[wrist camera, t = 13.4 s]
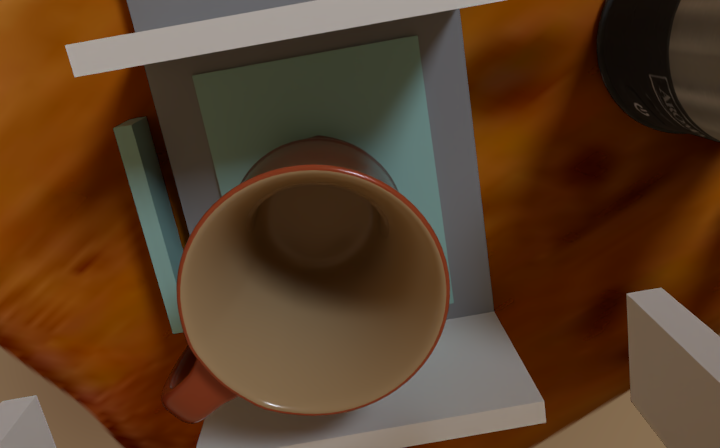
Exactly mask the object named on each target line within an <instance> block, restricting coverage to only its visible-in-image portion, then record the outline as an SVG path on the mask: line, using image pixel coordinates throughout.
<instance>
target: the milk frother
mask: <svg viewBox="0 0 720 448" xmlns="http://www.w3.org/2000/svg"><path fill="white" fill-rule="evenodd" d="M597 57H598V64H599V69H600V73H601V75H602V78H603V81H604V84H605V86H606V88H607V90H608V92H609V93H610V95H611V96H612V98H613V99H614V101H615V102H616V103H617V104H618V105H619V106H620V108H621V109H622V110H623V111H624V112H625V113H627V114H628V115H629V116H630V117H632V118H633V119H634V120H636V121H637V122H639V123H641V124H643V125H645V126H647V127H650V128H653V129H655V130H659V131H663V132H668V133H677V134H692V135H696V136H700V137H704V138H706V139H710V140H714V141H716V142H720V0H606V2H605V6H604V8H603V10H602V14H601V19H600V22H599V25H598V33H597Z"/></svg>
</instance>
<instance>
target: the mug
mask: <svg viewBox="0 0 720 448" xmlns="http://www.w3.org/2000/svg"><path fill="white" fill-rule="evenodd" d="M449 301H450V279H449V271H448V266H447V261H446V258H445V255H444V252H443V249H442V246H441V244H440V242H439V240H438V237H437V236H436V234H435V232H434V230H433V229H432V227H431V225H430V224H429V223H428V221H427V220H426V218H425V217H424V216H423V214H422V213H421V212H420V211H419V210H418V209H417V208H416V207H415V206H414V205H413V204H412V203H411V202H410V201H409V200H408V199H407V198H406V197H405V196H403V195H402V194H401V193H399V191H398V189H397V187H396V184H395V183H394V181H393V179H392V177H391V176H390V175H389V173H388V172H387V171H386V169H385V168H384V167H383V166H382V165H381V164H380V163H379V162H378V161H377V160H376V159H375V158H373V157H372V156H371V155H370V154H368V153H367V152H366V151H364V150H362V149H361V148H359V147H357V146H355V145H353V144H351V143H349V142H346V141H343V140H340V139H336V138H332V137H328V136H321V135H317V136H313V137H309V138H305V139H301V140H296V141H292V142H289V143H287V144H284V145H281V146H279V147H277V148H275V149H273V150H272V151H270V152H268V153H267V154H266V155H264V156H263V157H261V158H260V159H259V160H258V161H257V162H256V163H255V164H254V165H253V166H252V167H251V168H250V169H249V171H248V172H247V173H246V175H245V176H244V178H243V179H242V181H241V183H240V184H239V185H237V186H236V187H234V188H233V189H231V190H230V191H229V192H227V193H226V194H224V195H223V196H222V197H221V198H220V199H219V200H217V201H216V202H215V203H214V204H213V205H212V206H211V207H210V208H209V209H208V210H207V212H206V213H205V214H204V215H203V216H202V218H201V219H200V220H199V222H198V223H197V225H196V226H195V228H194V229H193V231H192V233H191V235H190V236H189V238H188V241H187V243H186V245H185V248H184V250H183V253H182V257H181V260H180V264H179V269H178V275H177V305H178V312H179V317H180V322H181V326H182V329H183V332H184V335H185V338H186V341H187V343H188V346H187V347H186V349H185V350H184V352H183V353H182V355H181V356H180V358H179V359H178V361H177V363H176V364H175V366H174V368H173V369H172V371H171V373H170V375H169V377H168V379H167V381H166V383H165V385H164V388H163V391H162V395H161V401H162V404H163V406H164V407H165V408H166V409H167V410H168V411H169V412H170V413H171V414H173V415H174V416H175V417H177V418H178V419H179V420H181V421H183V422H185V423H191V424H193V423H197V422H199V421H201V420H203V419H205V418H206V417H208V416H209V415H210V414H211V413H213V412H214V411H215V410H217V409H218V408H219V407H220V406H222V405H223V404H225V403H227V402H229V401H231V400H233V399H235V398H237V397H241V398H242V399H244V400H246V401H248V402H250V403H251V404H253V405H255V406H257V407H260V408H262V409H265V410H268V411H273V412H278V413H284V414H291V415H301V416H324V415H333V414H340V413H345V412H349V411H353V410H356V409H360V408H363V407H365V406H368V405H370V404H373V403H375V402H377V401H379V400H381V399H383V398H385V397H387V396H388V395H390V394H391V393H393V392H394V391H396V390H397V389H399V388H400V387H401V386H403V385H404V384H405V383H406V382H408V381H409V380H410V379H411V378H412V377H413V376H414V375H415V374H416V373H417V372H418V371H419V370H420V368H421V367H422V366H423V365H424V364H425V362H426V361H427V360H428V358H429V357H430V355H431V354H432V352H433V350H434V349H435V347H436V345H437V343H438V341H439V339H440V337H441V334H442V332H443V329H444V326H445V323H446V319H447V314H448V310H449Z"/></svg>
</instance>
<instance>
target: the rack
mask: <svg viewBox="0 0 720 448" xmlns="http://www.w3.org/2000/svg"><path fill="white" fill-rule="evenodd" d="M498 1H504V0H127V4H128V7H129V11H130V15H131V19H132V22H133V26H134V30H135V33H130V34H125V35H119V36H114V37H108V38H103V39H97V40H91V41H86V42H80V43H75V44H69V45H65V47H66V50H67V54H68V57H69V60H70V64H71V67H72V70H73V74H74V77H79V76H84V75H90V74H96V73H101V72H107V71H112V70H118V69H124V68H129V67H135V66H140V65H144V67H145V71H146V74H147V78H148V82H149V86H150V89H151V93H152V97H153V101H154V104H155V108H156V112H157V115H158V119H159V123H160V127H161V130H162V134H163V138H164V141H165V145H166V149H167V153H168V156H169V160H170V164H171V168H172V171H173V175H174V179H175V182H176V186H177V190H178V194H179V197H180V201H181V205H182V209H183V212H184V216H185V220H186V223H187V227H188V231H189V235H191V233H192V231H193V229H194V228H195V226H196V225H197V223H198V222H199V220H200V219H201V218H202V216H203V215H204V214H205V213H206V212H207V210H208V209H209V208H210V207H211V206H212V205H213V204H214V203H215V202H216V201H217V200H219V199H220V198H221V197H222V196H223V195H224V194H226V193H227V192H229V191H230V190H231V189H233V188H234V187H236V186H237V185H239V184H240V183H241V181H242V179H243V178H244V176H245V175H246V173H247V172H248V171H249V169H250V168H251V167H252V166H253V165H254V164H255V163H256V162H257V161H258V160H259V159H260V158H261V157H263V156H264V155H266V154H267V153H268V152H270V151H272V150H273V149H275V148H277V147H279V146H281V145H284V144H287V143H289V142H292V141H296V140H301V139H305V138H309V137H313V136H317V135H321V136H328V137H332V138H336V139H340V140H343V141H346V142H349V143H351V144H353V145H355V146H357V147H359V148H361V149H362V150H364V151H366V152H367V153H368V154H370V155H371V156H372V157H373V158H375V159H376V160H377V161H378V162H379V163H380V164H381V165H382V166H383V167H384V168H385V169H386V171H387V172H388V173H389V175H390V176H391V177H392V179H393V181H394V183H395V184H396V187H397V189H398V191H399V193H401V194H402V195H403V196H405V197H406V198H407V199H408V200H409V201H410V202H411V203H412V204H413V205H414V206H415V207H416V208H417V209H418V210H419V211H420V212H421V213H422V214H423V216H424V217H425V218H426V220H427V221H428V223H429V224H430V225H431V227H432V229H433V230H434V232H435V234H436V236H437V237H438V240H439V242H440V244H441V246H442V249H443V252H444V255H445V258H446V261H447V266H448V271H449V279H450V301H449V310H448V314H447V319H446V323H445V326H444V329H443V332H442V334H441V337H440V339H439V341H438V343H437V345H436V347H435V349H434V350H433V352H432V354H431V355H430V357H429V358H428V360H427V361H426V362H425V364H424V365H423V366H422V367H421V368H420V370H419V371H418V372H417V373H416V374H415V375H414V376H413V377H412V378H411V379H410V380H409V381H408V382H406V383H405V384H404V385H403V386H401V387H400V388H399V389H397V390H396V391H394V392H393V393H391V394H390V395H388V396H387V397H385V398H383V399H381V400H379V401H377V402H375V403H373V404H370V405H368V406H365V407H363V408H360V409H356V410H353V411H349V412H345V413H340V414H333V415H324V416H301V415H291V414H284V413H278V412H273V411H268V410H265V409H262V408H260V407H257V406H255V405H253V404H251V403H250V402H248V401H246V400H244V399H242V398H241V397H237V398H235V399H233V400H231V401H229V402H227V403H225V404H223V405H222V406H220V407H219V408H218V409H217V410H215V411H214V412H213V413H211V414H210V415H209V416H208V417H206V418H205V420H204V423H203V426H202V430H201V433H200V436H199V439H198V443H197V446H196V448H403V447H409V446H415V445H421V444H426V443H432V442H438V441H444V440H449V439H455V438H461V437H467V436H472V435H478V434H484V433H490V432H495V431H501V430H507V429H513V428H518V427H524V426H530V425H536V424H541V423H546V414H545V403H544V400H543V398H542V396H541V394H540V393H539V391H538V389H537V387H536V385H535V384H534V382H533V380H532V378H531V376H530V375H529V373H528V371H527V369H526V368H525V366H524V364H523V362H522V360H521V359H520V357H519V355H518V353H517V351H516V350H515V348H514V346H513V344H512V342H511V341H510V339H509V337H508V335H507V334H506V332H505V330H504V328H503V326H502V325H501V323H500V321H499V319H498V317H497V316H496V314H495V312H494V306H493V297H492V288H491V280H490V271H489V262H488V254H487V245H486V236H485V227H484V219H483V210H482V201H481V193H480V184H479V175H478V167H477V158H476V149H475V140H474V132H473V123H472V114H471V106H470V97H469V88H468V80H467V71H466V62H465V53H464V45H463V36H462V27H461V19H460V10H459V8H465V7H470V6H476V5H482V4H487V3H493V2H498ZM113 130H114V133H115V137H116V140H117V144H118V147H119V150H120V154H121V157H122V161H123V164H124V168H125V171H126V174H127V178H128V181H129V185H130V188H131V192H132V195H133V198H134V202H135V205H136V209H137V212H138V215H139V219H140V222H141V226H142V229H143V233H144V236H145V239H146V243H147V246H148V250H149V253H150V257H151V260H152V263H153V267H154V270H155V274H156V277H157V281H158V284H159V287H160V291H161V294H162V298H163V301H164V305H165V308H166V311H167V315H168V318H169V322H170V325H171V328H172V332H173V334H176V333H182V332H183V329H182V326H181V322H180V317H179V312H178V305H177V275H178V269H179V264H180V260H181V257H182V253H183V249H182V245H181V241H180V238H179V234H178V230H177V227H176V223H175V219H174V216H173V212H172V209H171V205H170V201H169V198H168V194H167V190H166V187H165V183H164V179H163V176H162V172H161V168H160V165H159V161H158V157H157V154H156V150H155V147H154V143H153V139H152V136H151V132H150V128H149V125H148V121H147V117H140V118H134V119H129V120H127V121H125V122H124V123H122V124H120V125H118V126H116V127H114V128H113Z"/></svg>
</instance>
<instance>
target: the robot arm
mask: <svg viewBox="0 0 720 448" xmlns="http://www.w3.org/2000/svg"><path fill="white" fill-rule="evenodd" d="M626 297H627V321H628V345H629V369H630V393H631V402H632V403H633V404H634V406H635V407H636V408H637V409H638V411H639V412H640V413H641V415H642V416H643V417H644V419H645V420H646V421H647V423H648V424H649V425H650V426H651V428H652V429H653V430H654V432H655V433H656V434H657V436H658V437H659V438H660V439H661V441H662V442H663V443H664V445H665V446H666V447H667V448H720V336H719V335H717V334H716V333H715V332H714V331H713V330H711V329H710V328H709V327H708V326H707V325H705V324H704V323H703V322H702V321H701V320H699V319H698V318H697V317H696V316H695V315H693V314H692V313H691V312H690V311H689V310H687V309H686V308H685V307H684V306H683V305H682V304H680V303H679V302H678V301H677V300H676V299H674V298H673V297H672V296H671V295H670V294H668V293H667V292H666V291H665V290H664V289H662V288H655V289H650V290H644V291H638V292H632V293H626ZM0 448H56V445H55V443H54V440H53V437H52V435H51V432H50V429H49V427H48V424H47V422H46V419H45V416H44V414H43V411H42V409H41V406H40V403H39V401H38V398H37V396H36V395H35V396H29V397H23V398H18V399H12V400H6V401H2V402H1V403H0Z"/></svg>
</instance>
